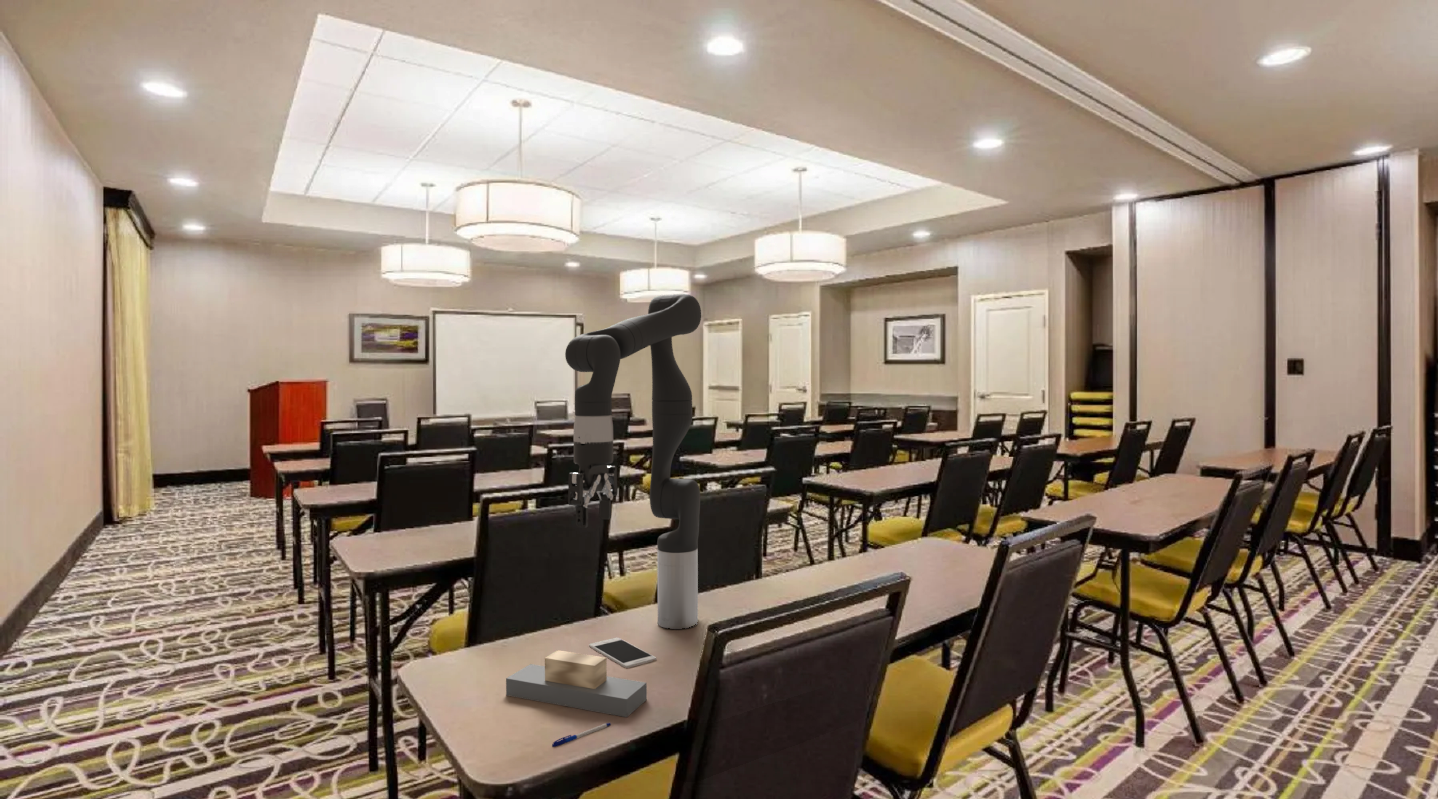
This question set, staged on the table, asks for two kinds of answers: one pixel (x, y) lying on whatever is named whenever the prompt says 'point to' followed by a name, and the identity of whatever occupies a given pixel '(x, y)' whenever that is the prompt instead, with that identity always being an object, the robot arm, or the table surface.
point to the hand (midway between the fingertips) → (593, 523)
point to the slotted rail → (578, 692)
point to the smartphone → (622, 652)
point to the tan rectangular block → (576, 669)
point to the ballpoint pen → (578, 735)
